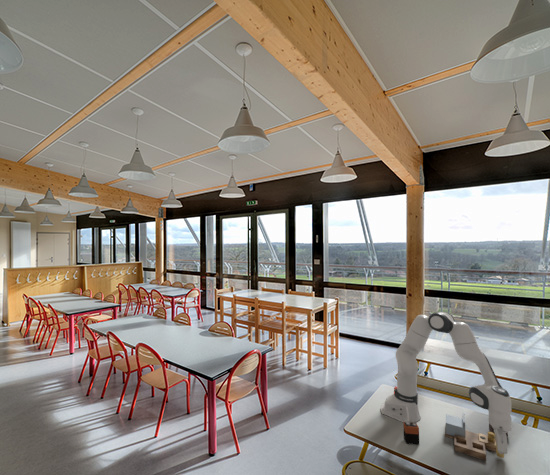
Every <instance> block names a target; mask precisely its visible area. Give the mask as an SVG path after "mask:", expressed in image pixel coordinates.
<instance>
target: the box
mask: <svg viewBox="0 0 550 475" xmlns="http://www.w3.org/2000/svg"><path fill="white" fill-rule="evenodd" d="M488 430H489V432H492V433H494V429H493V428H492V426H491V425H490V424H489V423H488ZM494 434H495V433H494ZM508 436H509V431H508V432H507V433H506V437H508Z"/></svg>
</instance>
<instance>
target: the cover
mask: <svg viewBox="0 0 550 475" xmlns="http://www.w3.org/2000/svg"><path fill="white" fill-rule="evenodd" d="M465 415H466V413H462V417H458V416H454V415H451V414H447V413H446V414H445V425H446V434H448V435H452V436H454V434H456V435H459V436H462V437H466V435H465V430H466V416H465Z"/></svg>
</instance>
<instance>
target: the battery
mask: <svg viewBox="0 0 550 475" xmlns="http://www.w3.org/2000/svg"><path fill="white" fill-rule="evenodd" d="M402 423H403V426H402V427H403V439H404V440H403V441H404V442H405V444H406V445H416V446H418V445H419V446H420V428H419V427H420V426H419V425H418V423H416V422H402Z"/></svg>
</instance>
